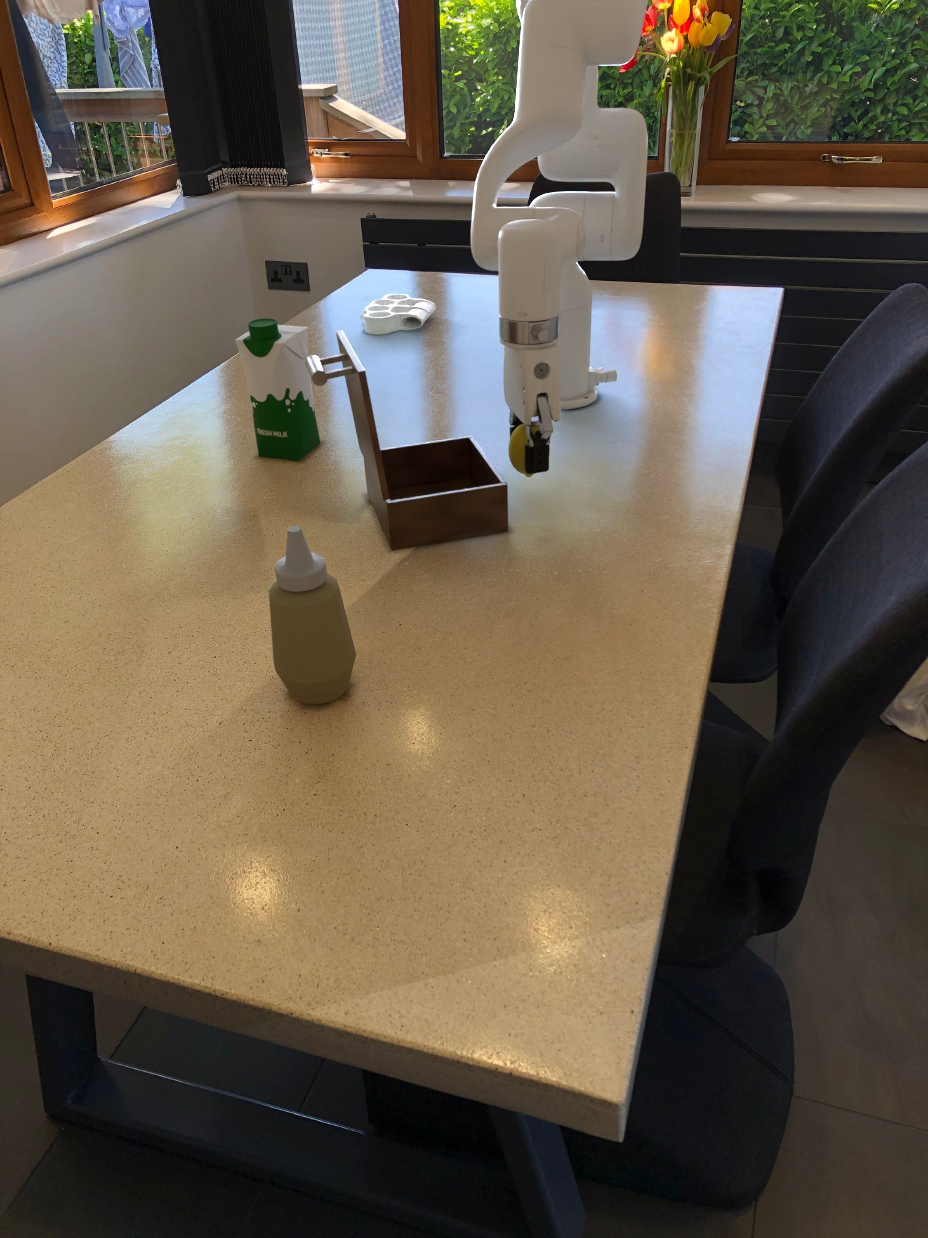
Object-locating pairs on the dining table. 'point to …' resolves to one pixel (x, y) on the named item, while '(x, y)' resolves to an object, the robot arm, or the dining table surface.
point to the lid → (354, 404)
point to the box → (438, 493)
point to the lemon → (519, 448)
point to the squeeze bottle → (309, 625)
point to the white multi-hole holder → (396, 314)
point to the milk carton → (279, 389)
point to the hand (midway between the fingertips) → (529, 461)
